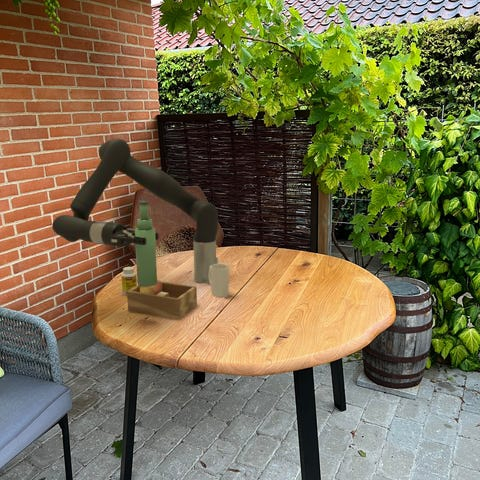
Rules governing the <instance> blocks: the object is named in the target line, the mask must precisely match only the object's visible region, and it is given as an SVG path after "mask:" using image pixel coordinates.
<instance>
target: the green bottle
mask: <svg viewBox="0 0 480 480" xmlns="http://www.w3.org/2000/svg"><path fill="white" fill-rule="evenodd" d="M138 204H139V218H137V222H136V223H137V227H138V228H137V227H135V228H134V229H135V237H144V238H146V245H139V244H135V259H136V262H135V263H136V279H137V286H138V285H139V286H142V287H149V286H154V285H156V284H157V280H158V269H157V266H158V265H157V245H156V244H157V240H156V238H155V233H156V228H155V227H153V219H152V218H151V217H149V216H150V214H149V213H150V212H149V204H150V201H149V199H142V200H141V199H140V200H138Z"/></svg>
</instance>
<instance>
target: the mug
mask: <svg viewBox="0 0 480 480" xmlns="http://www.w3.org/2000/svg"><path fill="white" fill-rule="evenodd" d="M229 267H230V266H229V265H228V264H226V263H218V264H213V265H211V266H210V268H209V273H208V276H209V282H210V283H209V286H210V287H211V295H212V296H213V297H215V298H224V299H227V298H228V297H229V279H230V277H229V276H230V275H229V274H230V273H229V272H230V269H229Z"/></svg>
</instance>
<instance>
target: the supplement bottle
mask: <svg viewBox="0 0 480 480" xmlns="http://www.w3.org/2000/svg"><path fill="white" fill-rule="evenodd" d="M120 276H121V288H122V294H123V295H124V296H127V291H129V290H131V289H132V288H134V287H136V286H138V284H137V272H135V268H134V267H133V266H125V267H123V268H122V273H121V275H120Z"/></svg>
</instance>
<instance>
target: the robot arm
mask: <svg viewBox="0 0 480 480" xmlns="http://www.w3.org/2000/svg"><path fill="white" fill-rule="evenodd" d="M98 155H99V158H100V162H99V164H98V165H97V167H96V168H95V170H94V171H93V173H92V174H91V176H89V177H88V179H87V180H86V181H85V182H84V183H83V185H82V186H81V187H80V189H79V190H78V191H77V193H76V195H75V196H74V197H73V199H72V202H71V203H70V204H69V205H70V206H69V207H70V210H71V211H72V213H73V215H68V214H63V215H59V216H57V217H56V218H55V219H54V220H53V222H52V224H51V225H52V226H51V227H52V230H53V232H54V234H56V235H58V236H59V237H61V238H63V239H65V240H66V241H67V242H71V243H75V242H77V241H80V240H82V241H83V242H86V243H88V242H89V243H94V244H95V243H96V244H98V245H105V246H112V247H121V246H126V247H129V246H130V245H132V246H134V245H136V244H139V245H146V238H144V237H135V228H126V226H125V225H124V224H123V223H120V222H111V221H105V220H104V221H101V220H100V221H98V220H97V221H96V220H90V219H89V218H90V215H91V213H92V212H93V210H94V208H95V206H96V205H97V203H98V202H99V200H100V198H101V197H102V195H103V193H104V191H105V190H106V188H107V186H109V184H110V183H111V181H112V179H113V178H114V177H115V176H116V174H117V173H118V172H120V173H121V174H123V175H125V176H127V177H128V178H130V179H131V180H133V181H134V182H136V183H137V184H138V185H140V186H141V187H143V189H146V190H147V191H148V192H150V193H151V194H153V195H155V196H156V197H157V198H159V199H161V200H162V201H164V202H166V203H169V204H170V205H172V206H175V207H177V208H178V209H180V210H181V211H182V212H183V213H185V214H186V215H187V216H188V217H189V218H191V219H192V220H193V221H194V222H196V229H195V232H194V233H193V236H192V239H193V270H194V271H193V273H194V274H193V275H194V277H193V278H194V281H195V282H196V283H199V284H210V282H209V276H208V273H209V268H210V266H211V265H213V264H219V258H218V257H217V239H216V237H217V234H218V223H219V222H218V220H219V218H218V217H219V215H218V214H219V213H218V209H217V207H216V205H214V204H213V203H210V202H208V201H205V200H203V199H200V198H199V197H197V196H195V195H193V194H191V193H190V192H188V191H187V190H186V189H185V188H184V187H183V186H182V185H181V184H180V183H179V182H178V181H177V180H176V179H174V178H173V176H170V175H169V174H168V173H166V172H165V171H163V170H161V169H160V168H157V167H156V166H153V165H150V164H148V163H145V162H142V161H141V160H138V159H137V158H135V157H134V156H133V155H131V147H130V145H129V143H128V142H127V141H126V140H124V139H122V138H112V139H109V140H107V141H105V142H103V143H102V144H101V145H100V146H99V148H98ZM136 228H138V226H137V227H136ZM159 236H160V235H159V233H158V232H155V238H156V241H157V240H159Z"/></svg>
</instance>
